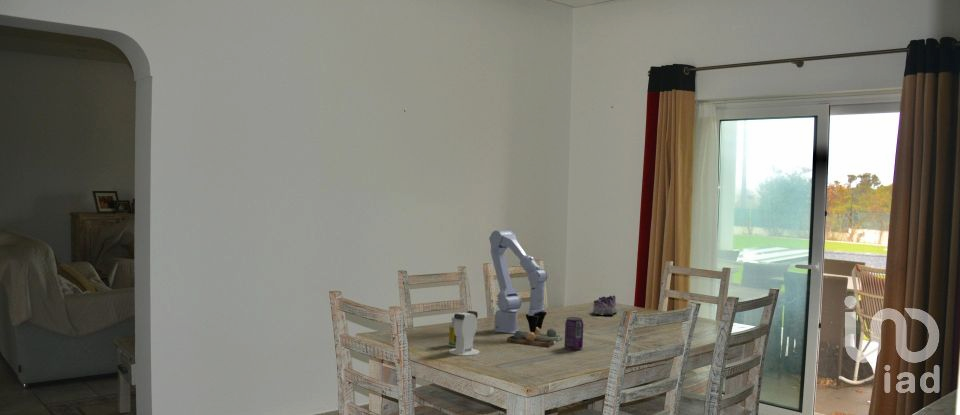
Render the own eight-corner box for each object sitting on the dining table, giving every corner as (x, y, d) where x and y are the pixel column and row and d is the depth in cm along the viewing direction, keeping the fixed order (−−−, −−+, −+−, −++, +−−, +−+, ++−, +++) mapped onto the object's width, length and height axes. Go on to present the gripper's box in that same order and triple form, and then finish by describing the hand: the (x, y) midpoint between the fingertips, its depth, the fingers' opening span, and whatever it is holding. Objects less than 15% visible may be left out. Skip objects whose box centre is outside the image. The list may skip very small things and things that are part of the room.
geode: (596, 309, 397) (600, 291, 397) (618, 314, 393) (622, 296, 393) (588, 314, 378) (592, 294, 378) (611, 319, 374) (615, 299, 374)
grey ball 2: (545, 338, 315) (545, 328, 315) (548, 336, 319) (548, 327, 319) (554, 339, 314) (554, 329, 314) (557, 337, 317) (557, 328, 317)
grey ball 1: (512, 340, 308) (512, 330, 308) (515, 339, 312) (516, 329, 312) (521, 341, 307) (522, 332, 306) (525, 340, 310) (525, 330, 310)
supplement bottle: (460, 343, 301) (461, 315, 301) (467, 347, 296) (468, 318, 295) (446, 344, 298) (447, 316, 298) (453, 348, 293) (454, 319, 292)
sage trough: (513, 338, 314) (513, 335, 314) (522, 334, 325) (522, 330, 324) (554, 343, 307) (554, 340, 307) (562, 339, 317) (562, 335, 317)
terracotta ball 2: (529, 336, 318) (529, 327, 318) (532, 334, 322) (532, 325, 321) (538, 337, 316) (538, 328, 316) (541, 335, 320) (541, 326, 320)
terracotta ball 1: (524, 342, 306) (524, 332, 306) (527, 340, 310) (527, 330, 310) (533, 343, 305) (533, 333, 304) (536, 341, 308) (537, 331, 308)
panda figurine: (460, 347, 295) (461, 308, 294) (485, 351, 289) (487, 312, 289) (443, 352, 285) (444, 312, 284) (469, 357, 279) (470, 316, 278)
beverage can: (584, 347, 302) (585, 317, 302) (580, 351, 296) (581, 320, 295) (566, 345, 305) (567, 316, 304) (562, 349, 298) (563, 318, 298)
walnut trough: (506, 341, 308) (507, 338, 308) (512, 339, 314) (512, 335, 313) (549, 347, 301) (549, 343, 301) (553, 344, 306) (554, 340, 306)
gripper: (540, 301, 310) (539, 334, 311) (551, 296, 324) (550, 328, 324) (524, 299, 313) (522, 332, 313) (535, 295, 326) (534, 326, 327)
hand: (535, 330), depth 319 cm, fingers open, 7 cm apart
